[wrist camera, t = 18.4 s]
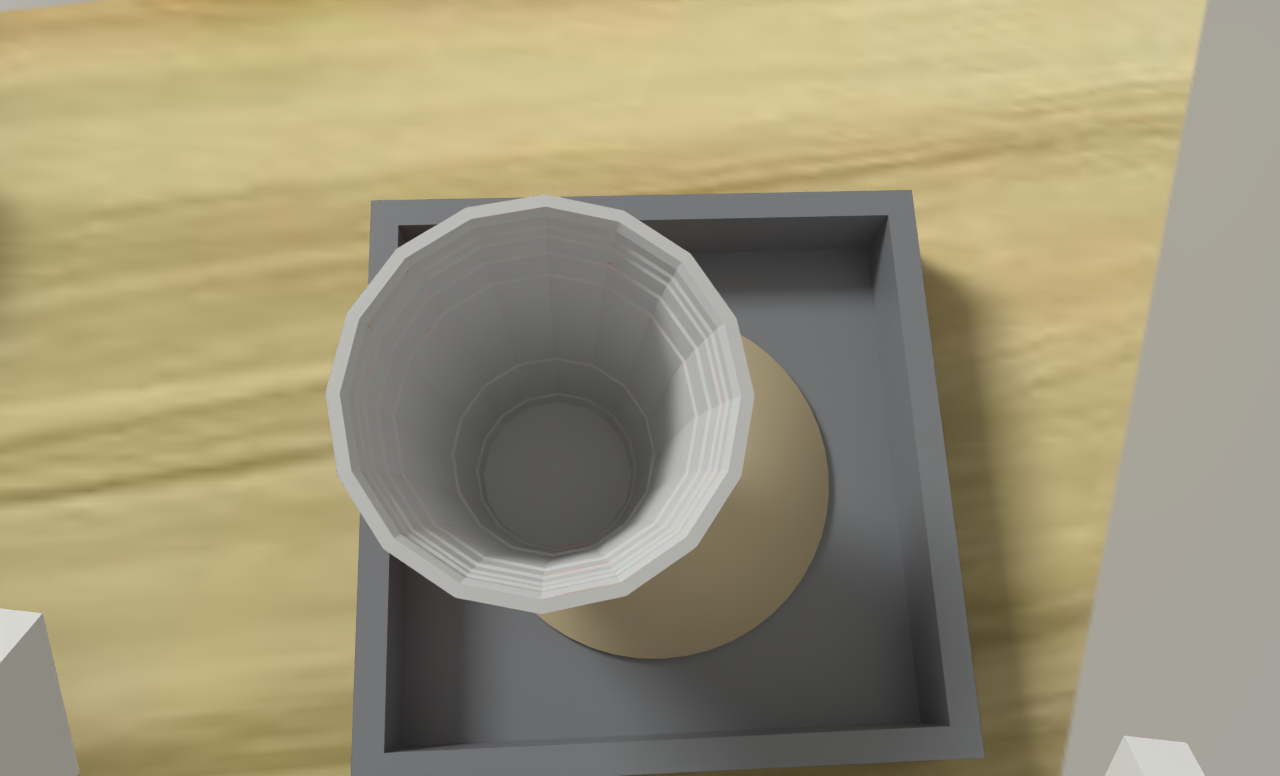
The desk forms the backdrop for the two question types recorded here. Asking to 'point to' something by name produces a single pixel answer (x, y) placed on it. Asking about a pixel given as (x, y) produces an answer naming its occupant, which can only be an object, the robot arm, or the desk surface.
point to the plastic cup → (540, 404)
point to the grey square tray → (722, 546)
